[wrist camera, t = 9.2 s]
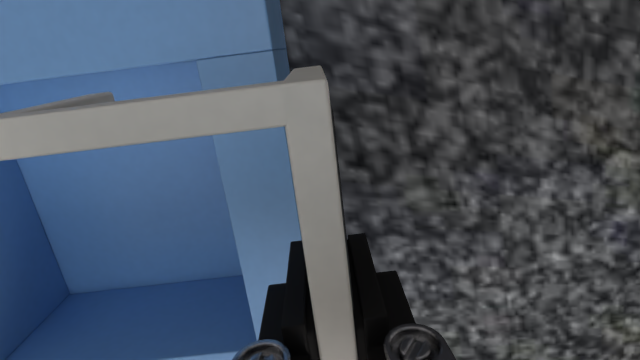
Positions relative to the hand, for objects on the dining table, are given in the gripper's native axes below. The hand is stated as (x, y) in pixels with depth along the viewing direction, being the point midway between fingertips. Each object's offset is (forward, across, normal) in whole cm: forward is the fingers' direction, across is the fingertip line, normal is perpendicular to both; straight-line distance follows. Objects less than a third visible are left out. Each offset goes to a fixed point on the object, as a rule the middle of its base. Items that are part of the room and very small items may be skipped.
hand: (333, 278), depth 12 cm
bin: (+13, +11, 0) cm, 17 cm away
